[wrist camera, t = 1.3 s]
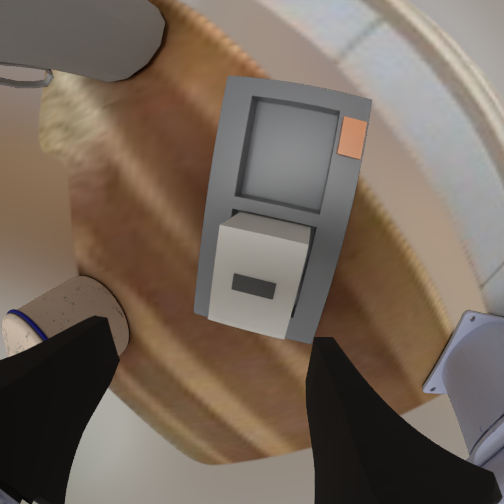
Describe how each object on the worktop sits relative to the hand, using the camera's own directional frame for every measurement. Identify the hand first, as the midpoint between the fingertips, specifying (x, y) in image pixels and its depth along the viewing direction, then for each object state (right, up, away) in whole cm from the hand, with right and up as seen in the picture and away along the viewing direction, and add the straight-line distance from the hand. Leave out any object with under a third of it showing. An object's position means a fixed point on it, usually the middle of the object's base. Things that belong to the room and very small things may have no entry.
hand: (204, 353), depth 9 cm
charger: (+3, +3, +9) cm, 10 cm away
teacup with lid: (-14, -4, +16) cm, 21 cm away
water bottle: (-8, +19, +7) cm, 22 cm away
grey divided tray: (+3, +6, +9) cm, 11 cm away
